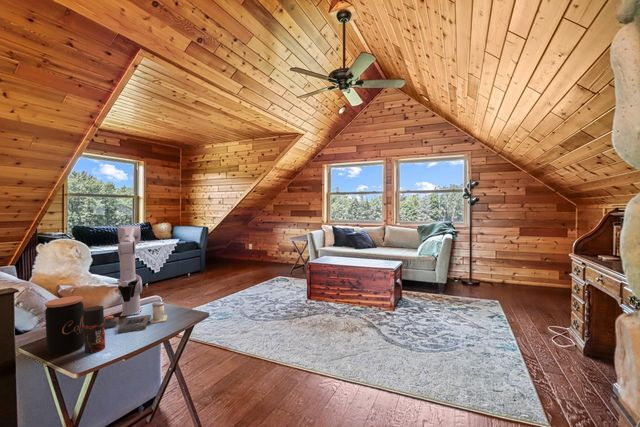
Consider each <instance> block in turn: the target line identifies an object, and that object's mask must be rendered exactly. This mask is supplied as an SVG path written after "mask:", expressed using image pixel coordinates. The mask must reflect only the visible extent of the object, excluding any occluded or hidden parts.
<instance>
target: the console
mask: <svg viewBox="0 0 640 427" xmlns="http://www.w3.org/2000/svg"><path fill="white" fill-rule="evenodd" d="M119 324H120V316H118V317H114V318H113V321H108V322H105V318H104V329H109V328H116V327H117V326H118V325H119Z"/></svg>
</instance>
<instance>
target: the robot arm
mask: <svg viewBox="0 0 640 427" xmlns="http://www.w3.org/2000/svg"><path fill="white" fill-rule="evenodd" d="M141 236H142V235H141V226H140V225H139V224H138V225H118V227H117V238H118V242H119V243H118V244H117V253H118V260H119V273H120V274H119V276H120V277H119V278H118V279H117V282H118V284H117V294H118V295H119V296H121V302H122V307H121V309H122V312H121V314H120V315H119V317H127V316H134V314H135V315H139V313H140V314H141V312H142V310H143V307H141V296H140V293H142V292H143V281H142V280H143V279H142V277H141V276H140V275H138V274H136V253H137V251H136V250H137V248H136V246H137V245H138V244H140V242H141ZM140 311H141V312H140Z"/></svg>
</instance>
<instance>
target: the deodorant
mask: <svg viewBox="0 0 640 427" xmlns="http://www.w3.org/2000/svg"><path fill="white" fill-rule="evenodd" d="M83 309H84V310H83V322H84V345H83V346H84V353H85V354H95V353H99V352H102V351H104V349H106V338H105V336H106V335H105V328H104V319H105V315H104V314H105V310H104V306H103V305H95V306H89V307H87V308H83Z"/></svg>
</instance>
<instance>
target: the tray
mask: <svg viewBox="0 0 640 427" xmlns="http://www.w3.org/2000/svg"><path fill="white" fill-rule="evenodd" d="M167 315H168V314H164V319H161V320H153V317H151V320H150V324H157V323H158V324H159V323H164V321H165V322H167V319H168V316H167Z"/></svg>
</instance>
